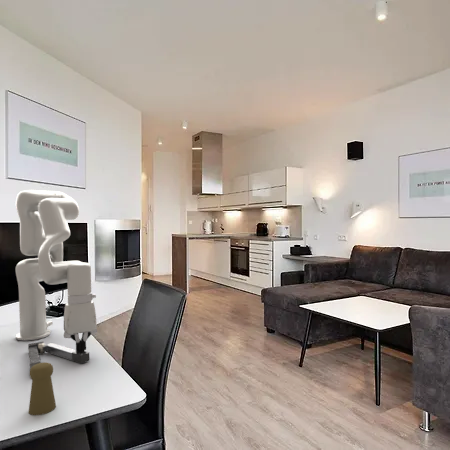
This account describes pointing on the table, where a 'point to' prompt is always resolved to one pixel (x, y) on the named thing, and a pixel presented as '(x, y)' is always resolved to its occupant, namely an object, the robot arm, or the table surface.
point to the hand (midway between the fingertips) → (81, 352)
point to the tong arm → (64, 352)
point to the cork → (41, 389)
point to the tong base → (34, 353)
